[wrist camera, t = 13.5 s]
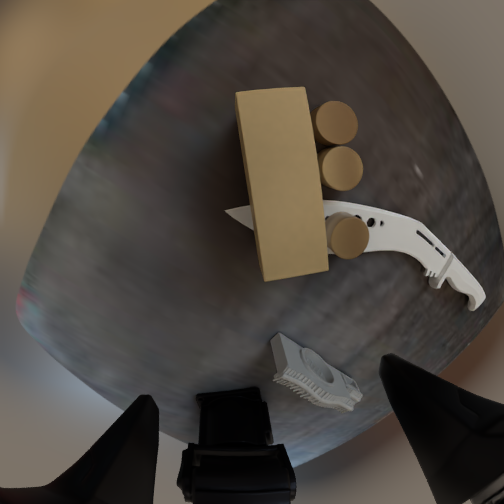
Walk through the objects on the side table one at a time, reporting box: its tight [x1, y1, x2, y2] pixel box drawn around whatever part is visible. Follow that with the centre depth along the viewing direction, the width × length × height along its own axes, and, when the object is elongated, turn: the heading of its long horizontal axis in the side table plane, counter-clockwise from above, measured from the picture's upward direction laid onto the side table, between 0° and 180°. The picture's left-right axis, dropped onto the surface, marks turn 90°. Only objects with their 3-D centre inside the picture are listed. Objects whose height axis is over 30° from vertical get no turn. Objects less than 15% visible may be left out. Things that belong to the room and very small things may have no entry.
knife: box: [225, 200, 486, 311], centre depth 21 cm, size 30×2×8 cm
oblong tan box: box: [235, 87, 329, 282], centre depth 15 cm, size 4×10×5 cm, turn 8°
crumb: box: [310, 101, 358, 146], centre depth 16 cm, size 3×3×2 cm
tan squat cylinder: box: [325, 212, 369, 259], centre depth 18 cm, size 3×3×2 cm
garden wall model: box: [270, 332, 363, 413], centre depth 21 cm, size 12×2×6 cm, turn 48°
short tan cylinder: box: [317, 146, 363, 191], centre depth 17 cm, size 3×3×2 cm
